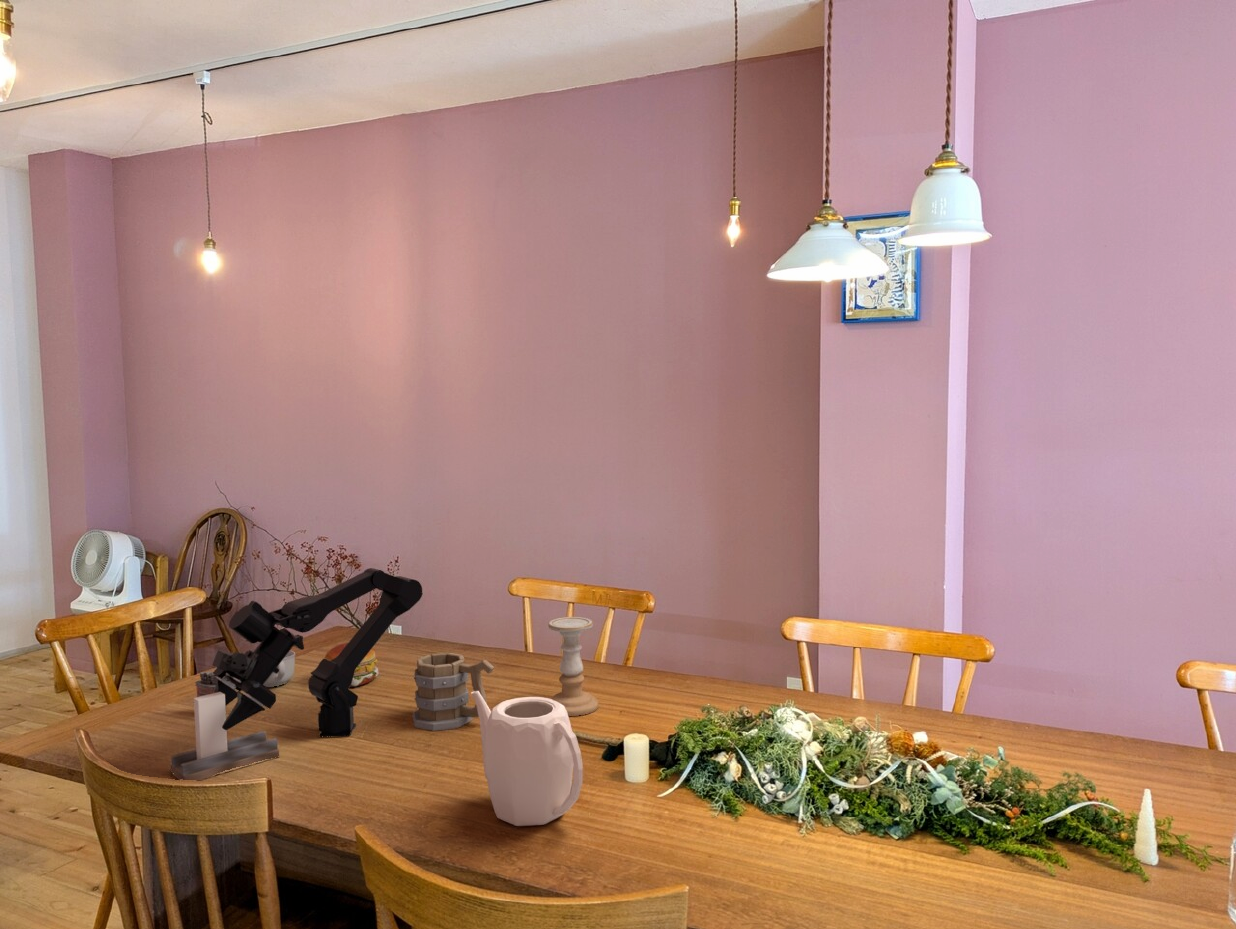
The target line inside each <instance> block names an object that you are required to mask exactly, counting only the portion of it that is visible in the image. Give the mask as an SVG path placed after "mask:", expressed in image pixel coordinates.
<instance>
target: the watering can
mask: <svg viewBox="0 0 1236 929" xmlns="http://www.w3.org/2000/svg"><path fill="white" fill-rule="evenodd" d="M470 694H471V696H472V698H473V699H474V702H475V705H476V706H477V711H478V715H479V717H478V718H479V728H480V740H481V749H482V759H483V769H484V778H485V779H486V781H487V788H488V794H489V797H490V801H491V803H492V807H493V810H494V813H495V815H496V818H498V820H499V819H500V820H501V821H504V822H506V823H508V824H510V825H513V826H516V827H526V826H542V825H547V824H548V823H550V822H552V821H554V820H556V819H558V818H559V817H562V816H563V815H564V814H565V813H566V812H568V811H569V810H570V809H571V808H572V807H573V806H574V805H575V803H576V802H577V801H578V800H579V797H580V793H581V789H582V787H583V782H584V781H583V779H584V767H583V766H584V765H583V760H582V753H581V749H580V747H579V746H580V745H579V741H578V738H577V736H576V734H575V733H574V732H573V730H572V725H571V721H570V716H568V713H567V711H566V709H565V707H564V705H562V704H560V703H558V702H557V701H554V700H552V699H550V698H547V697H542V696H524V697H515V698H512V699H507V700H503V701H500V703H498V704H497V705H495V706H494V707H492V709H490V707H489V705H488V704H487V701H486V702H485V701H484V699H483V697H482V696H481V694H480V692H479V691H474V690H473V691H471V692H470Z"/></svg>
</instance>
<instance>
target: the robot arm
mask: <svg viewBox="0 0 1236 929" xmlns="http://www.w3.org/2000/svg"><path fill="white" fill-rule="evenodd" d="M375 589H377V590H379V591H382V592H381V595H380V599H379V602H378V605H377V607H376V608H375V609H374V611H373V612H372V613H371V614H370V616H369V617H368V618H367V619H366V621H364V623H363V624H362V626H361V627H360V628H359V629H358V630H357V632H356V633H355V634H354V635H353V636H352V638H351V639H350V641H348V642H347V643H348V644H347V645H346V646H345V648H344V649H343V650H342V651H341V653H340V654H339V655H338V656H337V657H336V658H334V659H333V660H331V661H329V660H327V659H325V658H322V660H320V662H319V664H318V665H317V667H316V668H315V669H314V670H312V671H311V672H310V674H311V676H310V678H309V679H308V682H307V684H308V691H309V693H310V694H311V695H312V696H313V697H315V698H316V701H317V703H321V705H320V706H319V707H320V710H319V712H318V714H317V720H318V722H317V723H318V725H317V726H318V732H319V734H318V737H319V736H320V737H319V738H332V737H331V736H341V737H349V735H350V734H352V733H353V731H354V730H355V728H356V727H357V724H356V723H355V719H354V707H356V706H357V704H358V699H359V696H358V695H357V694H356V693H355V692H353V691H352V690H351V689H350V688H351V687H350V685H351V684H352V680H353V676H354V672H355V669H356V668H357V667H358V665H359V664H360V663H361V661H362V660H363V659H364V658H365V656H366V655H367V654H368V653H369V651H370V650H371V649H374V646H375V645H376V644H377V642H378V641H379V640H380V639H381V637H382V636H383V635H384V634H385V632H386V631H387V630H388V629H389V628H390V626H391V625H392V624H393V622H394V621H395V620H396V619H397V618H399V616H402V615H403V614H405V613H406V612H408V611H410V610H411V609H412V608H414V606H415V605H417V603H419V601H421V599H422V597H423V587H422V584H421V582H420V581H418V580H416V579H413V578H410V577H409V578H408V577H405V576H401V575H397V576H394V575H392V574H389V573H386V572H385V571H383V570H382V569H378V568H373V567H369V568H367V569H365V570H363V572H361V573H359V574H356V575H355V576H353V577H351V578H349V579H347V580H344V581H342V582H340V583H339V584H337V585H335V586H333V587H331V588H329V589H327V590H326V591H322V592H321V593H319V594H315V595H311V596H303V597H300V598H298V599H294V600H290V601H288V602H287V603H285V604H284V605H282V607H281V608H279V609H275V610H272V611H267V610H266V609H265V608H263V606H262V605H261V604H260V603H258V601H256V600H255V601H254V600H250V601H249V603H248V604H247V605H244V606H243V607H240V609H239V610H238V611H235V613H234V614H233V615H232V616H231V619H230V620H229V624H228V626H229V628H230V630H233V631H234V632H235V633H237V634H238V635H239V636H240V637H242V638H243V639H245V640H246V641H248V643H250V644H257V643H258V645H257V646H256V647H255V649H254V650H253V651H252V650H250V649H249V650H246V652H245V653H244V652H238V651H237V650H236V651H234V652H231V651H227V650H221V649H217V651H216V654H215V657H214V659H213V662H212V665H211V666H213V667H216V668H215V670H214V671H212V672H213V674H214V675H216V676H217V677H218V678H216V677H213V680H214V681H215V692H214V693H217V692H221V693H223V694H225V707H226V706H228V705H229V704H230V703H232V702H233V701H234V700H236V699H237V701H236V703H235V705H234V706H233V708H232V709H231V711H230V713H229V714H228V715H227V716H226V720H225V722H224V724H223V726H222V728H223V729H224V730H227V731H228V730H231V728H233V727H235V726H237V725H238V724H240V723H242V722H244V721H246V720H247V719H249V718H251V717H253V716H255V715H256V714H258V713H261V712H264V711H266V708H267V709H269V710H271V708H273V705H275V703H276V702H277V696H276V695H277V694H276V693H274V692H273V691H272V690H270V689H269V688H268V687H265V686H264V683H265V682H266V681H267V680H268V678H269V677H270V676H271V674H272V673H273V672H274V673H276V674H277V673H278V672H279V669H278V668H277V667H278V665H279V664H280V663H281V661H282V660H283V659H284V658H285V656H286V655H287V654H288V652H289V651H292V650H291V649H293V647H294V648H296V649H299V650H301V651H303V650H304V648H305V646H304V645H305V644H304V636H302V635H300V634H295V635H294V633H292V632H291V631H289V630H288V629H290V630H293V631H296V632H299V633H302V634H303V633H308V632H310V631H311V630H313V629H314V628H316V627H317V626H318V625H320V624H321V623H322V622H323V621H324V620H326V618H327V617H328V615H330V614H331V613H332V612H333V611H335V610H338V609H339V608H341V607H344V606H345V605H347V604H349V603H351V602H353V601H355V600H357V599H358V598H360V597H362V596H364V595H366V594H368V593H370V592H372V591H374V590H375ZM275 625H277V626H280V627H283V628H282V629H279V628H277V627H276V626H275ZM243 692H244V693H243ZM265 707H266V708H265ZM322 736H323V737H322ZM327 736H328V737H327ZM329 736H330V737H329ZM350 736H351V735H350Z"/></svg>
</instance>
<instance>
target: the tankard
mask: <svg viewBox="0 0 1236 929" xmlns="http://www.w3.org/2000/svg"><path fill="white" fill-rule="evenodd" d="M416 666H417V668H415V670H414V677H413V679H414V681H415V684H416V687H417V690H415V692H414V693H415V695H414V696H415V697H414V701H415V704H416V708H417V710H415V711H413V712H412V719H413V721H412V722H413V724H414V728H416V729H422V730H427V731H432V732H439V731H446V730H455V729H458V728H461V727H463V726H465V725H466V724H468V723H470V722H471V721H473V718H479V715H478V711H477V706H476V704H475V705H474V707H473V706H469V705H467V703H469V702H470V700H469V698H470V697H469V695H470V694H469V690H468V688H467V686H466V685H467V684H466V682H468V681H469V674H470V680H471V687H472V689H473V692H474V691H479V692H480V694H481V696H482V697H483V699H484V701H485V702H486V703H487V695H486V691H485V689H484V685H483V682H482V671H484V672H485V673H487V674H492V672H493V670H494V669H495V666H493V665H492V664H491V663H490V662H489V661H488V660H486V659H483V660H482V661H480V662H477V663H475V664H467V663H466V660H465V657H464V655H462V654H459V653H453V652H439V653H430V654H426V655H424V656H422V657H419V658H417V660H416ZM464 724H465V725H464Z"/></svg>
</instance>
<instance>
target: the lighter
mask: <svg viewBox="0 0 1236 929" xmlns="http://www.w3.org/2000/svg"><path fill="white" fill-rule="evenodd" d="M213 672H214V671H213V670H209V671H201V672H200V673H199V678H200V679H198V680H197V681H195V686H196V697H200V696H204V695H209V694H213V693H214V692H215V681H214V680H213V677H216V678H218V677H217V676H216V675H214V674H213Z"/></svg>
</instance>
